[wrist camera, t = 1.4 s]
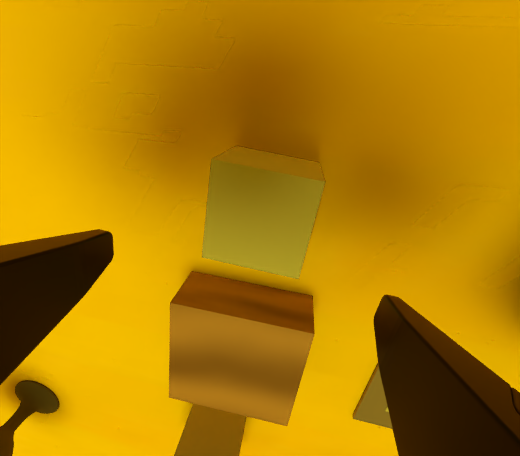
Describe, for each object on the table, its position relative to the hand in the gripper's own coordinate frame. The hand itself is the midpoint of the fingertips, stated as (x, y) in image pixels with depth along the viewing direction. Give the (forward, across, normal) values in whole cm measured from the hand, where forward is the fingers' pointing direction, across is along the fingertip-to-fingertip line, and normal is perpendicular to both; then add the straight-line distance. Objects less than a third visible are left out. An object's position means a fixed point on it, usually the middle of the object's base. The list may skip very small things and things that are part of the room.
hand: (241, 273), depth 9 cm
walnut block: (+10, 0, +11) cm, 15 cm away
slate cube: (+9, +1, +23) cm, 25 cm away
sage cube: (+9, 0, 0) cm, 9 cm away
